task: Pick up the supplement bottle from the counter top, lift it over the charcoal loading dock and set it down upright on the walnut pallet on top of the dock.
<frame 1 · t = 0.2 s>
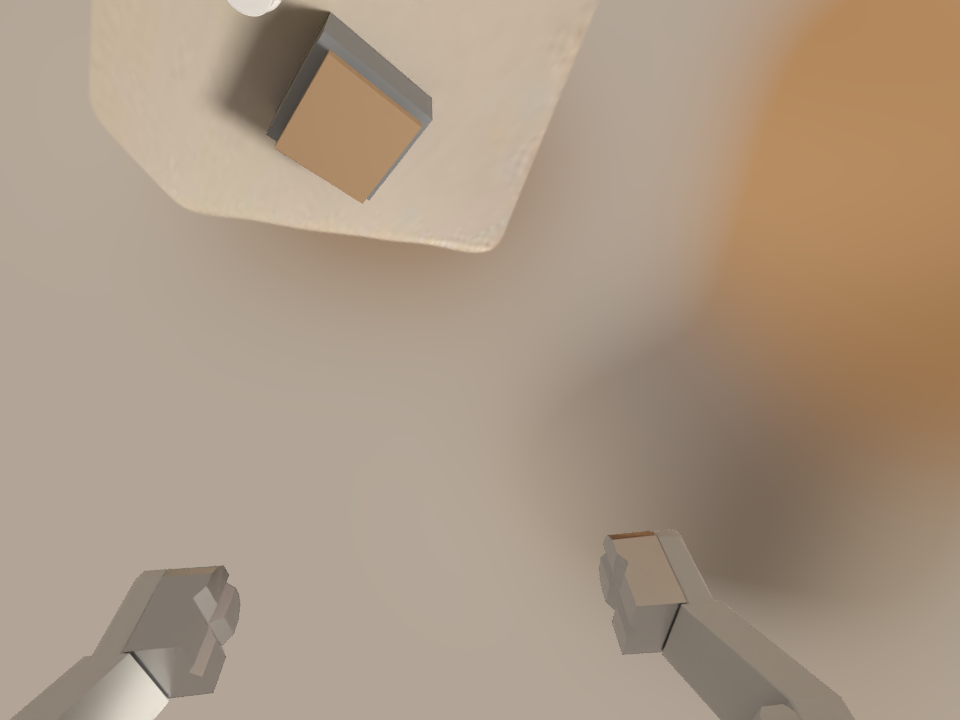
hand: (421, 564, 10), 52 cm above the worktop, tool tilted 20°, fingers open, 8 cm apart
loading dock: (353, 105, 52), on the worktop
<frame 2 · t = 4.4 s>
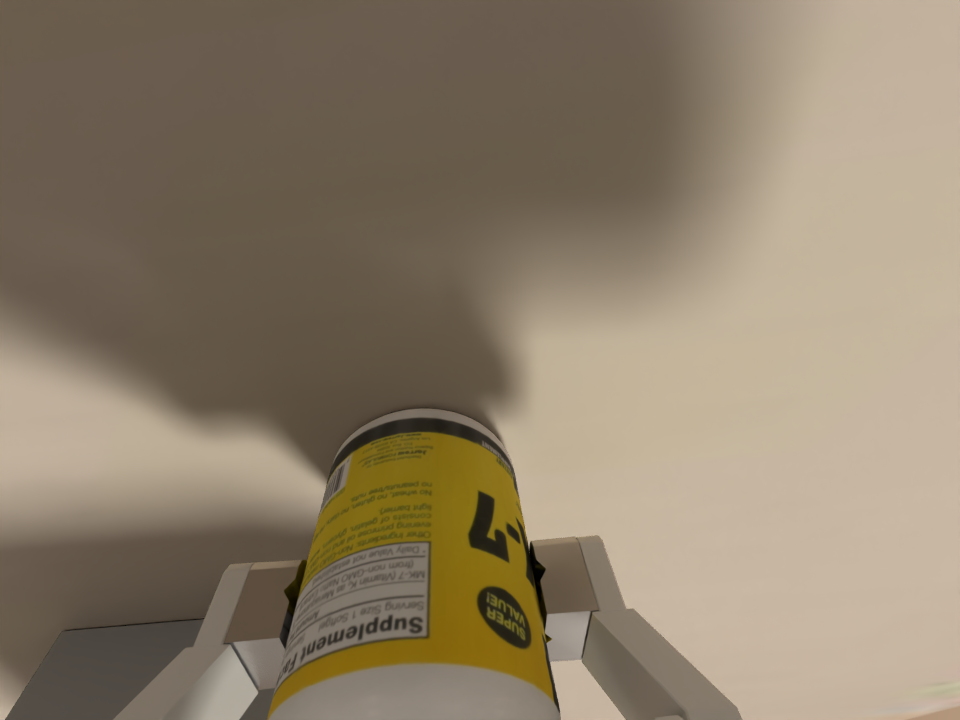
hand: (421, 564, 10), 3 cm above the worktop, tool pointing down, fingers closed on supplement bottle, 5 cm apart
loading dock: (295, 697, 19), on the worktop
supplement bottle: (424, 466, 13), on the worktop, touching gripper
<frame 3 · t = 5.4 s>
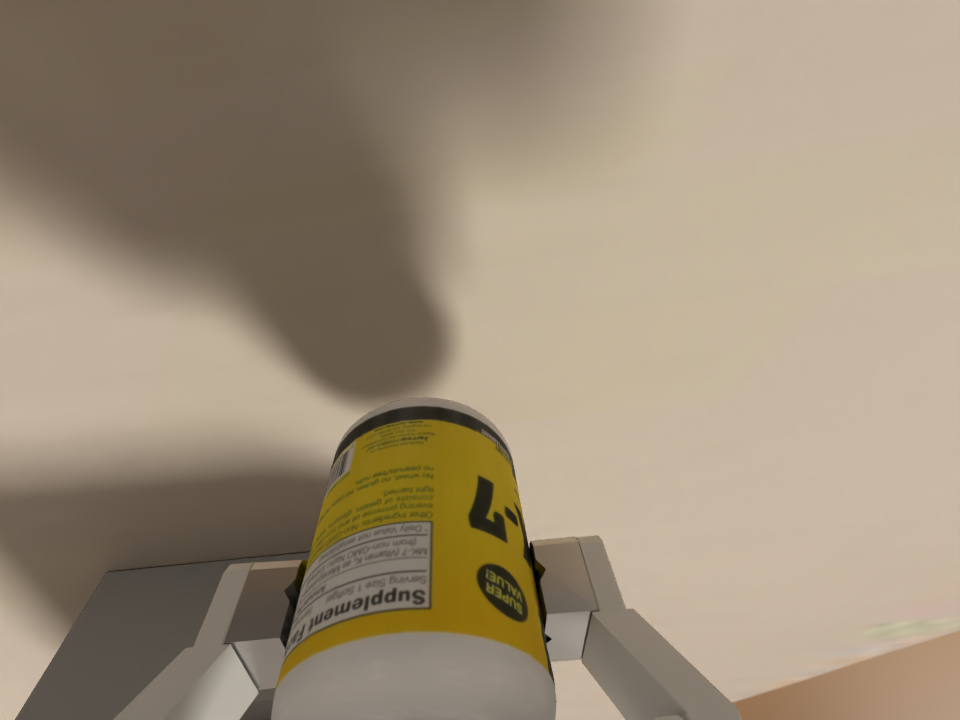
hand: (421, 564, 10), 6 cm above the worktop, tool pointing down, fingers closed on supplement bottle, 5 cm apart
loading dock: (305, 638, 21), on the worktop
supplement bottle: (425, 455, 13), point 2 cm above the worktop, touching gripper
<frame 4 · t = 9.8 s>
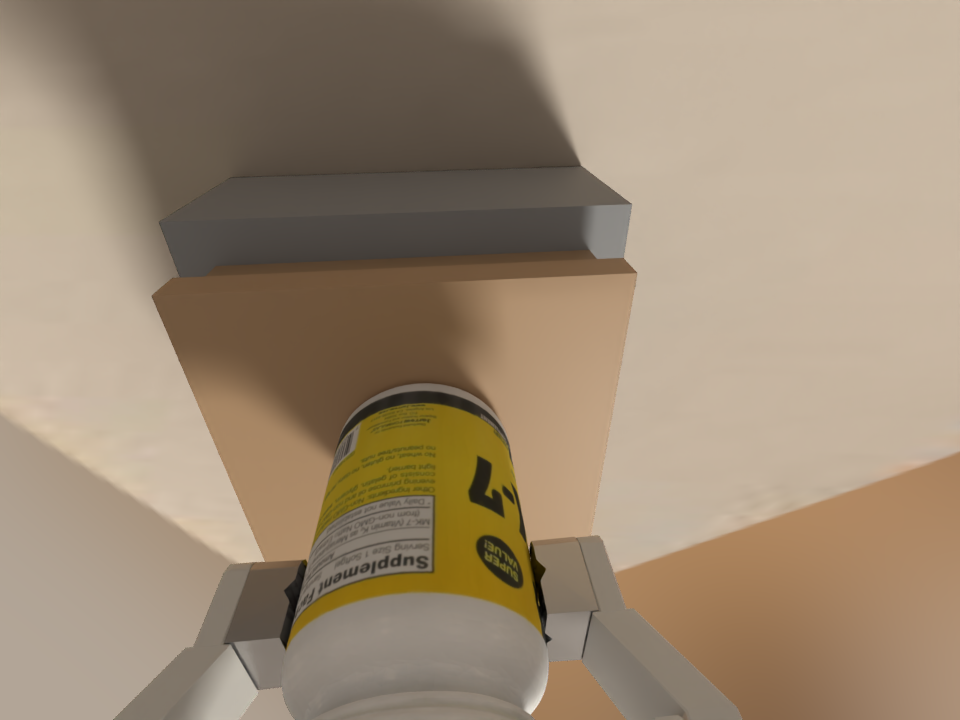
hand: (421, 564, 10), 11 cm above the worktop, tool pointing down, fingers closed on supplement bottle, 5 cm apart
loading dock: (424, 325, 20), on the worktop
supplement bottle: (425, 439, 14), point 7 cm above the worktop, touching gripper, loading dock
when the fingers open (11 cm above the worktop, at t = 10.3 s): supplement bottle stays where it is, resting on loading dock.
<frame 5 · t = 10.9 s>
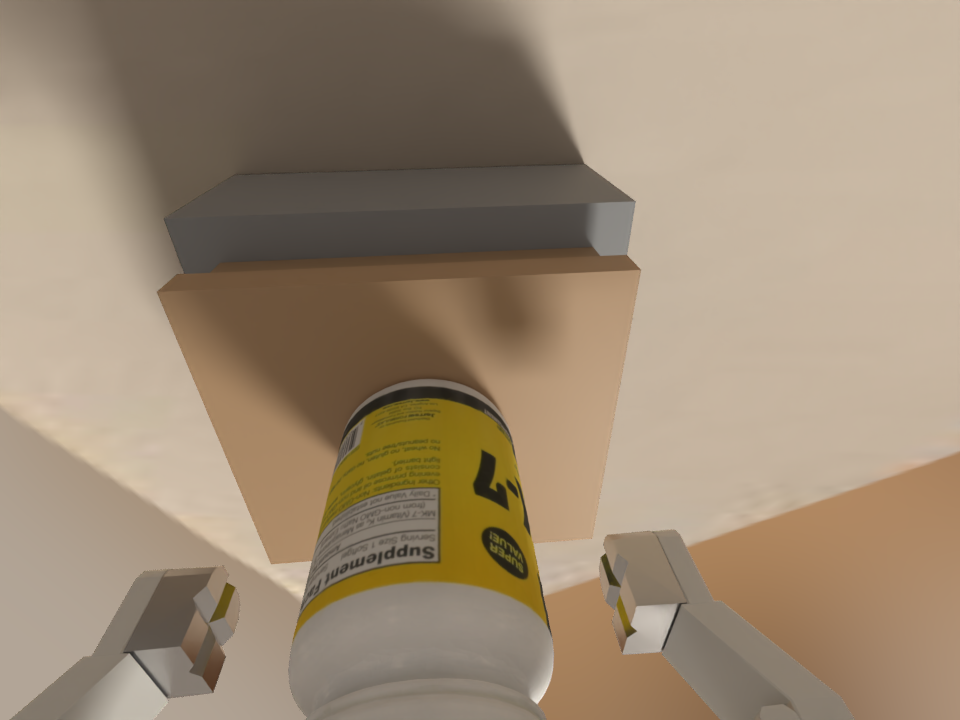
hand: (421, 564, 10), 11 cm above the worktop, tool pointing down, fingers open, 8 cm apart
loading dock: (426, 322, 20), on the worktop
supplement bottle: (428, 436, 14), point 7 cm above the worktop, touching loading dock
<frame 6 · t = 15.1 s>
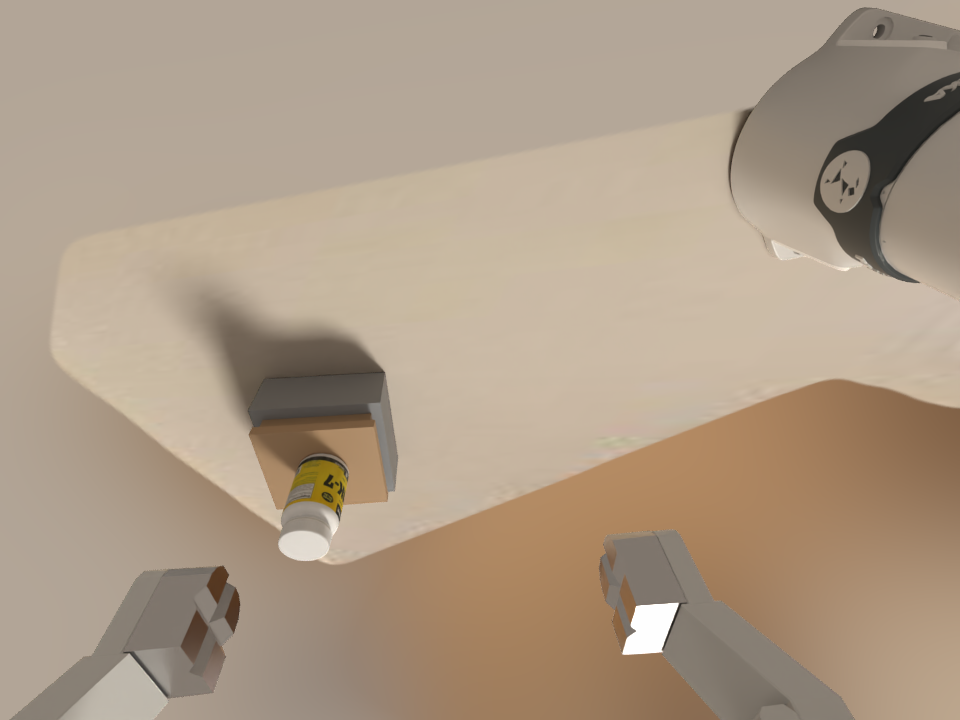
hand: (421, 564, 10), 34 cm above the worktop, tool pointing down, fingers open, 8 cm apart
loading dock: (335, 421, 51), on the worktop
supplement bottle: (324, 468, 45), point 7 cm above the worktop, touching loading dock
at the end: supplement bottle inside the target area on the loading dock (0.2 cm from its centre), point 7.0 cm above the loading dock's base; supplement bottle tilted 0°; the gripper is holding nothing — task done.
